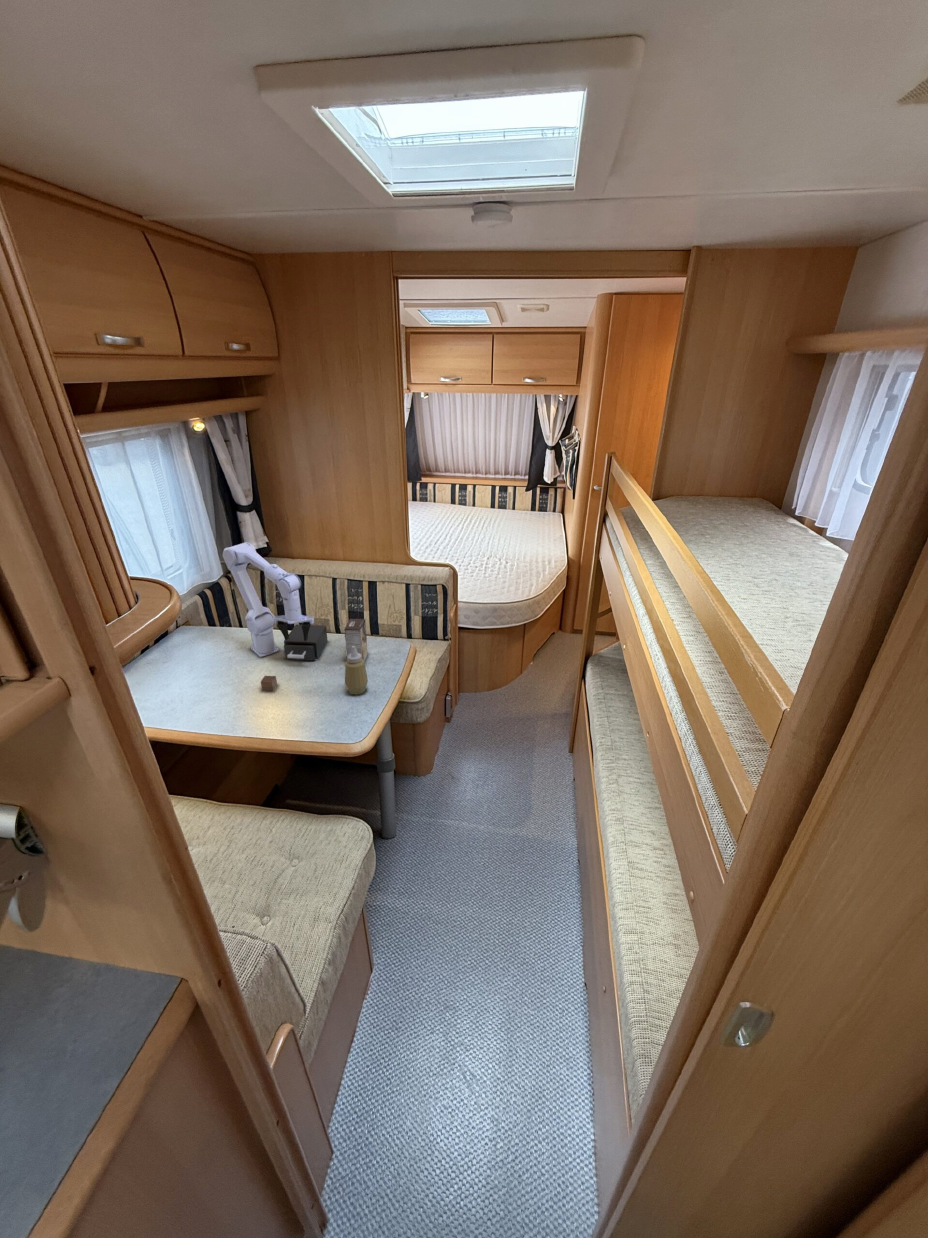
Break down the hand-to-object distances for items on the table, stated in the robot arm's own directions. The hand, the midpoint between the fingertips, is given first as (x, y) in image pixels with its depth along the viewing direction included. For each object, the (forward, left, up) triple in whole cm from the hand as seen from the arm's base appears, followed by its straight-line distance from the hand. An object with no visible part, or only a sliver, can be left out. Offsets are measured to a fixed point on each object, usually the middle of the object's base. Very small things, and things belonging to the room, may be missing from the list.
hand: (296, 639), depth 188 cm
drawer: (-4, +4, -9) cm, 11 cm away
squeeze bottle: (+31, +6, -11) cm, 33 cm away
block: (+9, -16, -10) cm, 21 cm away
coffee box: (+13, +18, -11) cm, 25 cm away
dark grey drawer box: (-7, +7, -10) cm, 15 cm away
